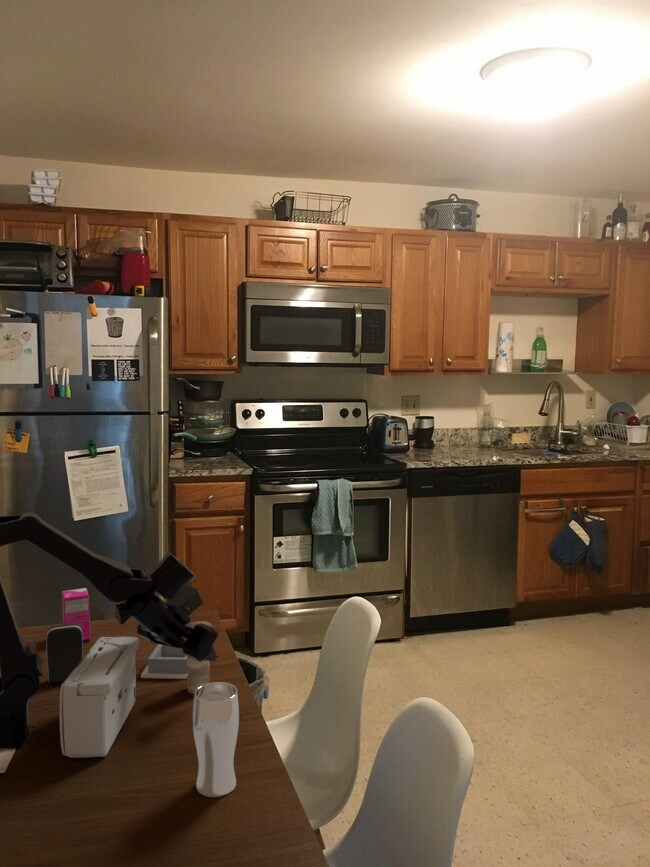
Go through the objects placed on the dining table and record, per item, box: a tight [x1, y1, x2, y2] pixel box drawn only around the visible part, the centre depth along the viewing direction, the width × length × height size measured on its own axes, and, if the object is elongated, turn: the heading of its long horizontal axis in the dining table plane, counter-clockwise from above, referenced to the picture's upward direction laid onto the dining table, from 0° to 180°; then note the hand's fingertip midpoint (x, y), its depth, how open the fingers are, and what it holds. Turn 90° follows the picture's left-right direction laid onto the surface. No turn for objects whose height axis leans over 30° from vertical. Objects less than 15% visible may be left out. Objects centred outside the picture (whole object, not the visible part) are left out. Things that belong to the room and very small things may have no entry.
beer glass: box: [192, 681, 240, 798], centre depth 102 cm, size 7×7×15 cm
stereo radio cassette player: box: [59, 636, 140, 759], centre depth 118 cm, size 21×8×20 cm, turn 1°
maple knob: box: [185, 620, 213, 695], centre depth 134 cm, size 6×6×13 cm
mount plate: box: [140, 644, 187, 680], centre depth 144 cm, size 10×11×4 cm
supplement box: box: [61, 587, 92, 643], centre depth 159 cm, size 6×6×12 cm
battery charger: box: [45, 623, 84, 685], centre depth 138 cm, size 7×4×11 cm, turn 112°
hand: (200, 652), depth 134 cm, fingers open, 9 cm apart
